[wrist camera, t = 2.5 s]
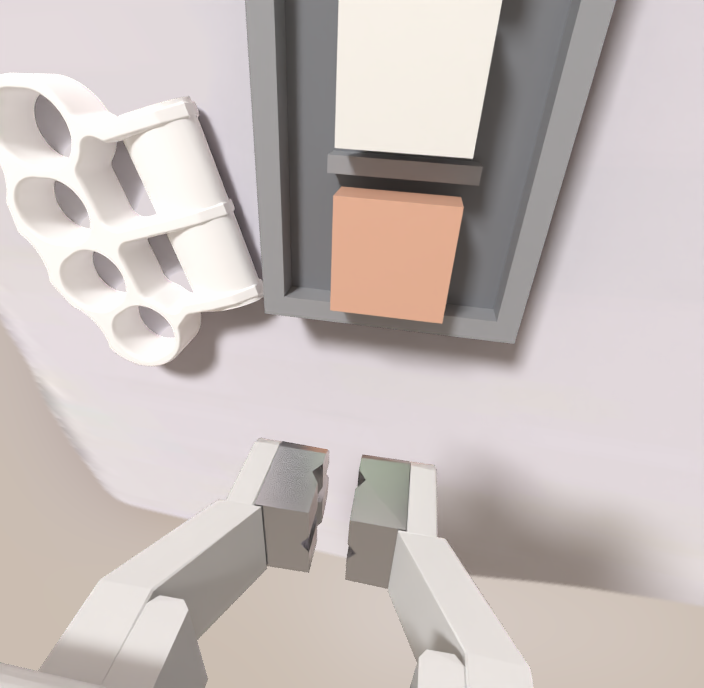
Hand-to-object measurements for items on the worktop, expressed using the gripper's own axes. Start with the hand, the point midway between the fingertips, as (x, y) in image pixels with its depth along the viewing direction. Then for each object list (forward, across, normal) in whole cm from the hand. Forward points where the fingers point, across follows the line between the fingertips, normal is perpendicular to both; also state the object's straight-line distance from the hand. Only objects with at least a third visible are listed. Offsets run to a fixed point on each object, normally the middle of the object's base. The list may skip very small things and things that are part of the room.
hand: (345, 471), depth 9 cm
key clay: (+15, 0, 0) cm, 15 cm away
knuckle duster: (+20, +17, +2) cm, 26 cm away
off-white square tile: (+15, 0, -8) cm, 16 cm away
